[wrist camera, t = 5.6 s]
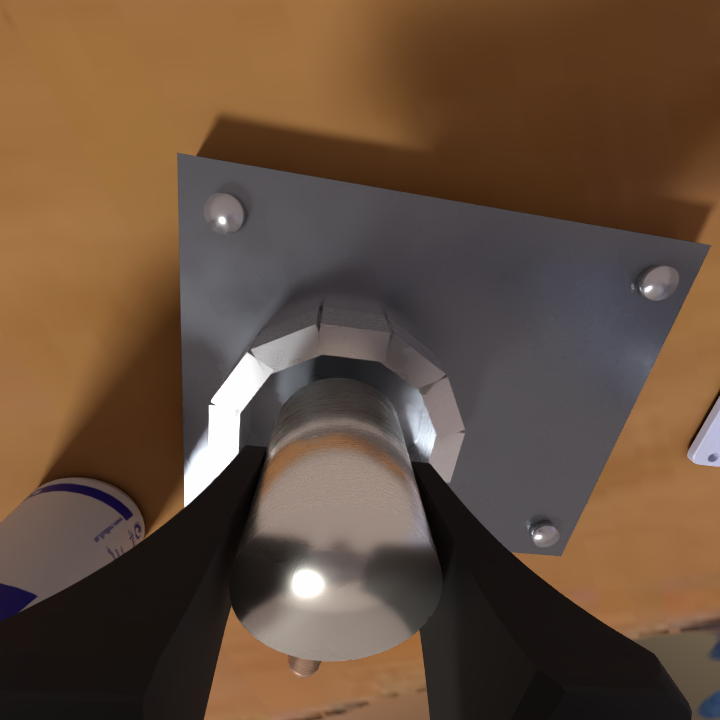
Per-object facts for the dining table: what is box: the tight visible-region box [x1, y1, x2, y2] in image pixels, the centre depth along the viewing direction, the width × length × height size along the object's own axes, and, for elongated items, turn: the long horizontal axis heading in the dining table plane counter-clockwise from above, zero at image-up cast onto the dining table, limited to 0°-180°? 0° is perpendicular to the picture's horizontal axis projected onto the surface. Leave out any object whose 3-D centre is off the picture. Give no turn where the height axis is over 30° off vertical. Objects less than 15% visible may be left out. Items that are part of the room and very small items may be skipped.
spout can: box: [229, 378, 442, 678], centre depth 11 cm, size 4×6×6 cm
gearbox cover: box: [177, 153, 711, 556], centre depth 15 cm, size 18×15×4 cm
